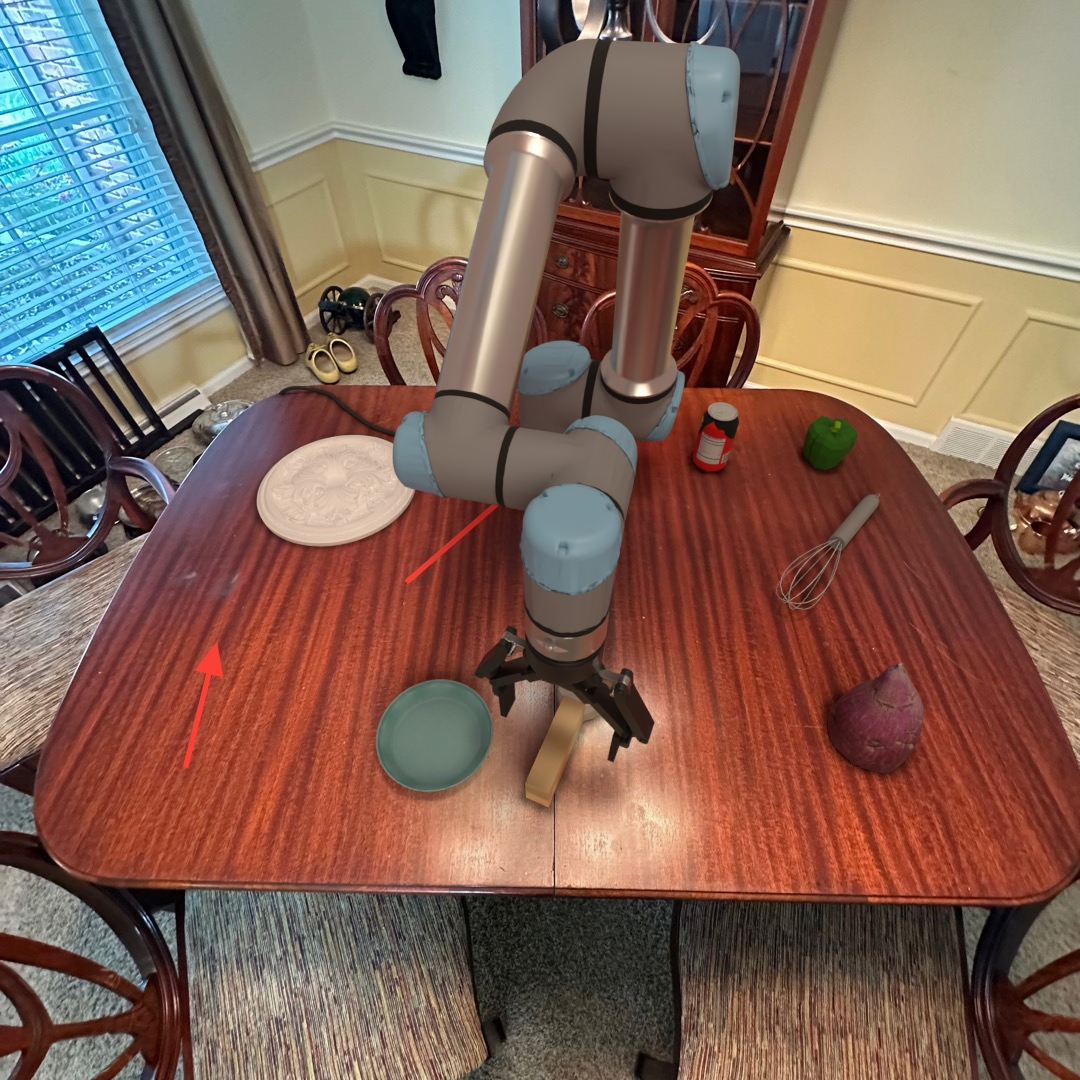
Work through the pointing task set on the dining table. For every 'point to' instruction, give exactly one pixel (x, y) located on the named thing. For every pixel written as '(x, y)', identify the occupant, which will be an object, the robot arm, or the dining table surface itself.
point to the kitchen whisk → (838, 541)
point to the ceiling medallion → (333, 491)
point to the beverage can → (715, 436)
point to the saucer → (434, 735)
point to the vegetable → (878, 721)
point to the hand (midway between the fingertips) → (559, 728)
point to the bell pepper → (828, 442)
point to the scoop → (557, 746)
